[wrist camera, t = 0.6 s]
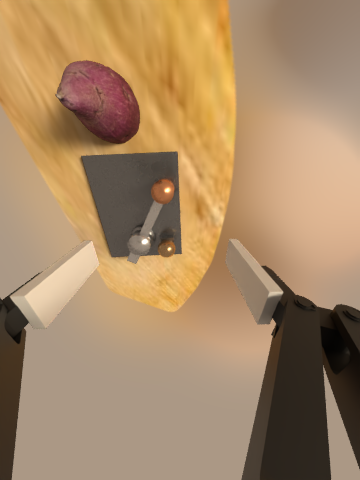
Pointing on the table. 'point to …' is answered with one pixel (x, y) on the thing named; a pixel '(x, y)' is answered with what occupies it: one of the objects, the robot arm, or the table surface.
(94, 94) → the vegetable
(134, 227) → the base
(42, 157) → the table surface
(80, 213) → the table surface
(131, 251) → the lever
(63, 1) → the table surface
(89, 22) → the table surface
